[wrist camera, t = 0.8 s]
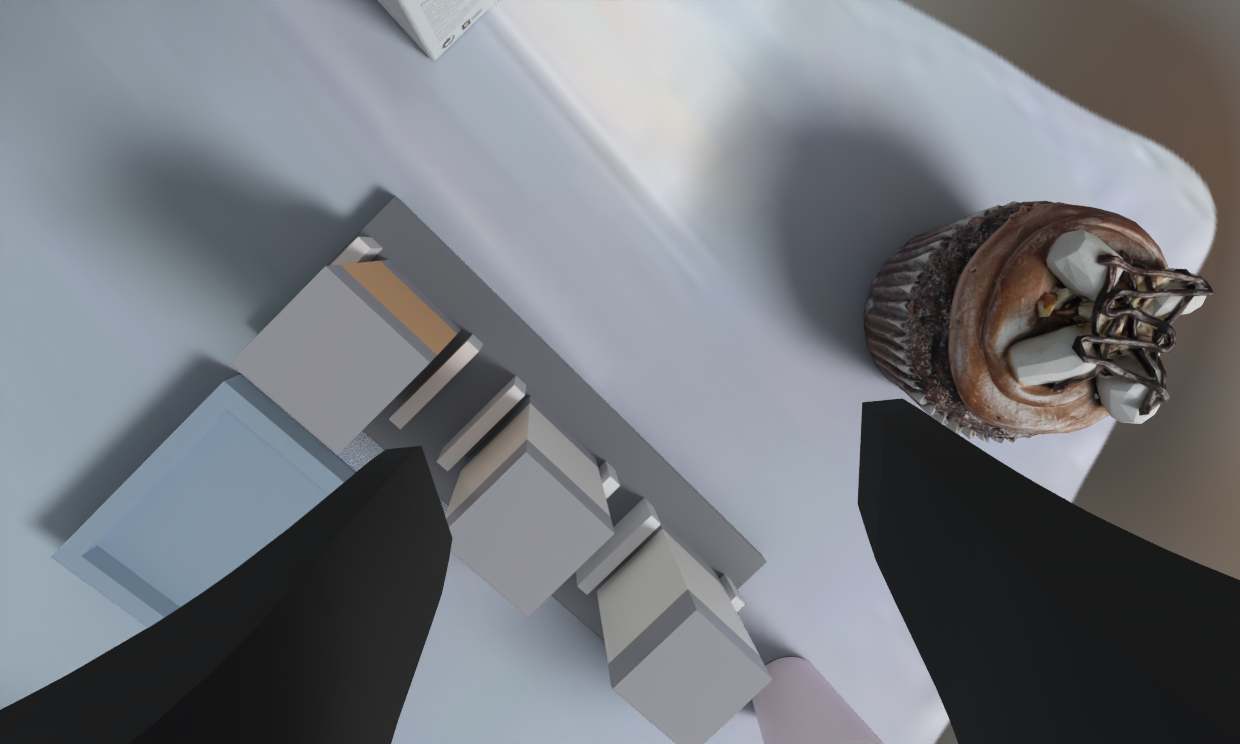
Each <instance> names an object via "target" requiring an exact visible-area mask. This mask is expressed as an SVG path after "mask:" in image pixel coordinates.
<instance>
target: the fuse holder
mask: <svg viewBox="0 0 1240 744" xmlns="http://www.w3.org/2000/svg"><path fill="white" fill-rule="evenodd" d="M382 260H389V261H390V262H391V263H392V264H393V265H394V266H395V267H396V268H397V269H398V270H399V271H400V272H401V273H402V274H404V275H405V276H406V277H407V278H408V279H409V280H410V281H411V282H412V283H413V284H414V285H415V286H416V287H417V288H418V289H419V290H420V291H421V292H422V293H423V294H425V295H426V296H427V297H428V298H429V299H430V300H431V301H432V302H433V303H434V304H435V305H436V306H437V307H438V308H439V309H440V310H441V311H442V312H443V313H444V314H446V315H447V316H448V317H449V318H450V319H451V320H452V321H453V322H454V323H455V324H456V325H457V326H458V327H459V328H460V329H461V331H460V332H459V333H458V334H457V335H456V336H455V337H454V338H453V339H452V340H451V341H450V342H449V343H448V344H447V346H446V347H445V348H444V349H443V350H442V351H441V352H440V353H439V354H438V355H437V356H436V357H435V358H434V359H433V360H432V361H431V362H430V363H429V364H428V365H427V366H426V367H425V368H424V369H423V370H422V371H421V372H420V373H419V374H418V375H417V376H416V377H415V378H414V379H413V380H412V381H411V382H410V383H409V384H408V385H407V386H406V387H405V388H404V389H403V390H402V391H401V392H400V393H399V394H398V395H397V396H396V397H395V398H394V399H393V400H392V401H391V402H390V403H389V404H388V405H387V406H386V407H385V408H384V409H383V410H382V411H381V412H380V413H379V414H378V415H377V416H376V417H375V418H374V419H373V420H372V421H371V422H370V423H369V424H368V425H367V426H366V427H365V428H364V429H363V430H362V431H364V432H365V433H366V434H367V435H368V436H369V437H370V438H372V439H373V440H374V441H375V442H376V443H377V444H378V445H380V446H381V447H382V448H383V449H384V450H386V449H393V448H403V447H414V446H422V448H423V451H424V454H425V457H426V460H427V463H428V466H429V469H430V472H431V475H432V478H433V481H434V484H435V487H436V490H437V493H438V496H439V498H440V499H442V500H443V501H444V502H445V503H446V504H447V505H448V506H449V503H450V500H451V497H452V495H453V492H454V489H455V486H456V484H457V481H458V478H459V475H460V472H461V470H462V467H463V464H464V461H465V459H466V458H467V457H468V456H469V455H470V454H471V453H472V452H473V451H474V450H475V449H476V448H477V447H479V446H480V445H481V444H482V443H483V442H484V441H485V440H486V439H487V438H488V437H489V436H490V435H491V434H492V433H493V432H494V431H495V430H496V429H497V428H498V427H499V426H500V425H501V424H502V423H503V422H504V421H505V420H506V419H507V418H508V417H509V416H510V415H511V414H512V413H513V412H514V411H515V410H516V409H517V408H518V407H519V406H520V405H521V404H522V403H523V402H524V401H525V400H526V399H527V398H528V397H529V396H530V395H531V396H532V397H533V398H534V399H535V400H536V401H537V402H538V403H539V404H540V405H541V406H542V407H543V408H544V409H545V410H546V411H547V412H548V413H550V414H551V415H552V416H553V417H554V418H555V419H556V420H557V421H558V422H559V423H560V424H561V425H562V426H563V427H564V428H565V429H566V430H567V431H568V432H569V433H571V434H572V435H573V436H574V437H575V438H576V439H577V440H578V441H579V442H580V443H581V444H582V445H583V446H584V447H585V448H586V449H587V450H588V451H589V452H590V453H592V454H593V455H594V456H595V457H596V461H597V465H598V469H599V473H600V477H601V481H602V485H603V489H604V493H605V497H606V501H607V505H608V509H609V513H610V517H611V521H612V525H613V529H614V533H615V534H614V535H613V536H612V537H611V538H610V539H609V540H608V541H607V542H606V543H605V544H604V545H603V546H602V547H601V548H599V549H598V550H597V551H596V552H595V553H594V554H593V555H592V556H591V557H590V558H589V559H588V560H587V561H586V562H585V563H584V564H583V565H582V566H581V567H580V568H579V569H578V570H577V571H576V572H574V573H573V574H572V575H571V576H570V577H569V578H568V579H567V580H566V581H565V582H564V583H563V584H562V585H561V586H560V587H559V588H558V589H557V590H556V591H555V592H554V593H553V594H552V596H553V597H554V598H555V599H556V600H557V601H559V602H560V603H561V604H562V605H563V606H564V607H566V608H567V609H568V610H569V611H570V612H571V613H572V614H574V615H575V616H576V617H577V618H578V619H579V620H580V621H582V622H583V623H584V624H585V625H586V626H587V627H588V628H590V629H591V630H592V631H593V632H594V633H595V634H597V635H598V636H599V637H600V638H601V639H602V640H603V641H604V635H603V628H602V622H601V616H600V609H599V603H598V597H597V590H596V586H597V585H598V584H599V583H600V582H601V581H602V580H603V579H604V578H605V577H606V576H607V575H609V574H610V573H611V572H612V571H613V570H614V569H615V568H616V567H617V566H618V565H619V564H620V563H621V562H622V561H623V560H624V559H625V558H626V557H627V556H628V555H629V554H630V553H632V552H633V551H634V550H635V549H636V548H637V547H638V546H639V545H640V544H641V543H642V542H643V541H644V540H645V539H646V538H647V537H648V536H649V535H650V534H651V533H652V532H653V531H655V530H656V529H657V528H658V527H659V526H660V525H661V523H660V521H659V518H660V519H661V520H662V521H663V522H664V523H665V524H666V525H667V526H668V527H669V528H670V529H671V530H672V531H673V532H675V533H676V534H677V535H678V536H679V537H680V538H681V539H682V540H683V541H684V542H685V543H686V544H687V545H688V546H689V547H690V548H691V549H692V550H693V551H694V552H696V553H697V554H698V555H699V556H700V557H701V558H702V559H703V560H704V561H705V562H706V563H707V564H708V565H709V566H710V567H711V568H712V569H713V570H714V571H715V572H716V574H717V576H718V578H719V580H720V581H721V583H722V585H723V587H724V589H725V591H726V593H727V595H728V597H729V598H730V600H731V602H732V604H733V606H734V608H735V610H736V612H738V611H739V610H740V609H741V608H742V607H743V606H744V605H745V603H744V601H743V599H742V598H741V596H740V594H739V592H738V591H737V589H738V588H739V587H741V586H742V585H743V584H744V583H745V582H746V581H747V580H748V579H749V578H750V577H751V576H752V575H753V574H754V573H755V572H756V571H758V570H759V569H760V568H761V567H762V566H763V565H764V564H765V563H766V560H765V559H764V558H763V556H762V555H761V554H760V553H759V552H758V551H757V550H756V549H755V548H754V547H753V546H752V545H751V544H750V543H749V542H748V541H747V540H746V539H745V538H744V537H743V536H742V535H741V534H740V533H739V532H738V531H737V530H736V529H735V528H734V527H733V526H732V525H731V524H730V523H729V522H728V521H727V520H726V519H725V518H724V517H723V516H722V515H721V514H720V513H719V512H718V511H717V510H716V509H715V508H714V507H712V506H711V505H710V504H709V503H708V502H707V501H706V500H705V499H704V498H703V497H702V496H701V495H700V494H699V493H698V492H697V491H696V490H695V489H694V488H693V487H692V486H691V485H690V484H689V483H688V482H687V481H686V480H685V479H684V478H683V477H682V476H681V475H680V474H679V473H678V472H677V471H676V470H675V469H674V468H673V467H672V466H671V465H670V464H669V463H668V462H667V461H666V460H665V459H664V458H663V457H662V456H661V455H660V454H659V453H657V452H656V451H655V450H654V449H653V448H652V447H651V446H650V445H649V444H648V443H647V442H646V441H645V440H644V439H643V438H642V437H641V436H640V435H639V434H638V433H637V432H636V431H635V430H634V429H633V428H632V427H631V426H630V425H629V424H628V423H627V422H626V421H625V420H624V419H623V418H622V417H621V416H620V415H619V414H618V413H617V412H616V411H615V410H614V409H613V408H612V407H611V406H610V405H609V404H608V403H607V402H606V401H605V400H604V399H603V398H601V397H600V396H599V395H598V394H597V393H596V392H595V391H594V390H593V389H592V388H591V387H590V386H589V385H588V384H587V383H586V382H585V381H584V380H583V379H582V378H581V377H580V376H579V375H578V374H577V373H576V372H575V371H574V370H573V369H572V368H571V367H570V366H569V365H568V364H567V363H566V362H565V361H564V360H563V359H562V358H561V357H560V356H559V355H558V354H557V353H556V352H555V351H554V350H553V349H552V348H551V347H550V346H549V345H548V344H546V343H545V342H544V341H543V340H542V339H541V338H540V337H539V336H538V335H537V334H536V333H535V332H534V331H533V330H532V329H531V328H530V327H529V326H528V325H527V324H526V323H525V322H524V321H523V320H522V319H521V318H520V317H519V316H518V315H517V314H516V313H515V312H514V311H513V310H512V309H511V308H510V307H509V306H508V305H507V304H506V303H505V302H504V301H503V300H502V299H501V298H500V297H499V296H498V295H497V294H496V293H495V292H494V291H493V290H492V289H490V288H489V287H488V286H487V285H486V284H485V283H484V282H483V281H482V280H481V279H480V278H479V277H478V276H477V275H476V274H475V273H474V272H473V271H472V270H471V269H470V268H469V267H468V266H467V265H466V264H465V263H464V262H463V261H462V260H461V259H460V258H459V257H458V256H457V255H456V254H455V253H454V252H453V251H452V250H451V249H450V248H449V247H448V246H447V245H446V244H445V243H444V242H443V241H442V240H441V239H440V238H439V237H438V236H437V235H435V234H434V233H433V232H432V231H431V230H430V229H429V228H428V227H427V226H426V225H425V224H424V223H423V222H422V221H421V220H420V219H419V218H418V217H417V216H416V215H415V214H414V213H413V212H412V211H411V210H410V209H409V208H408V207H407V206H406V205H405V204H404V203H403V202H402V201H401V200H400V199H399V198H396V197H394V198H393V199H392V200H391V201H390V202H389V203H388V204H387V205H386V206H385V207H384V208H383V209H382V210H381V211H380V212H379V213H378V214H377V215H376V216H375V217H374V218H373V219H372V220H371V221H370V222H369V223H368V224H367V225H366V226H365V227H364V228H363V229H362V230H361V231H360V232H359V233H358V234H357V236H356V237H355V238H354V239H353V240H352V241H351V242H350V243H349V244H348V245H347V246H346V247H345V248H344V249H343V250H342V251H341V252H340V253H339V254H338V255H337V256H336V257H335V258H334V259H333V260H332V261H331V262H330V263H329V264H328V265H327V266H331V265H341V264H351V263H361V262H372V261H382ZM658 517H659V518H658Z"/></svg>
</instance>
